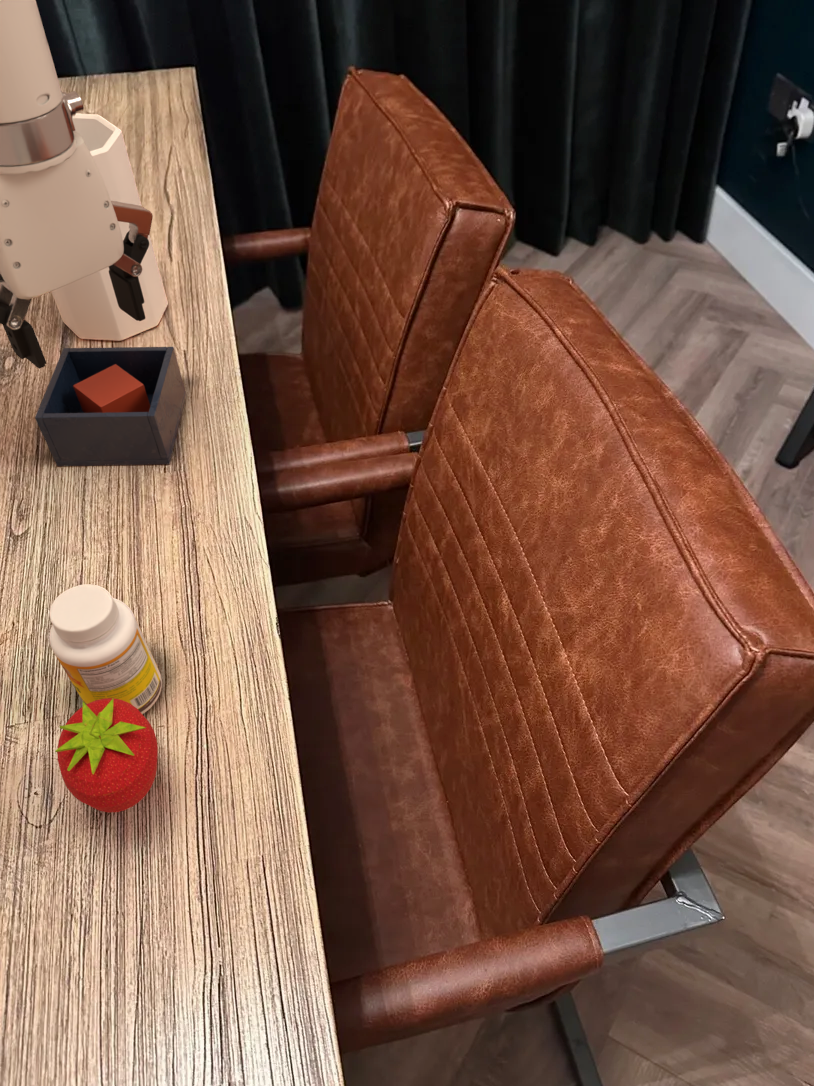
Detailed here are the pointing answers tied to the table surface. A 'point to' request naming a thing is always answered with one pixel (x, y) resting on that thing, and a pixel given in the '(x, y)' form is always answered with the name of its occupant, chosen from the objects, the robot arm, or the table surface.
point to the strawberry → (108, 755)
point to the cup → (93, 297)
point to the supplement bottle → (103, 648)
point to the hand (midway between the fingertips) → (84, 336)
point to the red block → (112, 392)
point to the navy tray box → (113, 432)
